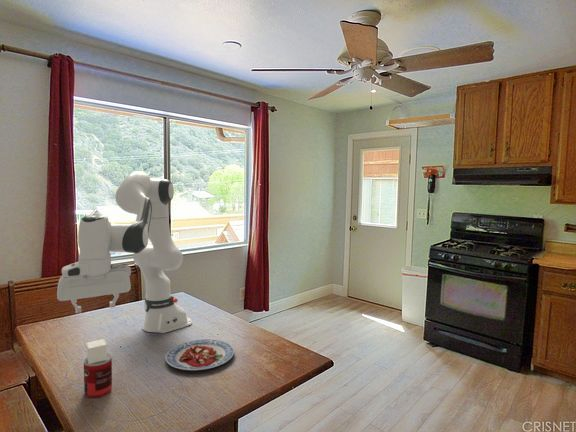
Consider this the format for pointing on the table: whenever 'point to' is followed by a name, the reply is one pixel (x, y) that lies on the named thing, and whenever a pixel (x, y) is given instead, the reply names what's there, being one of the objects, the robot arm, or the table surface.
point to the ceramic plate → (199, 354)
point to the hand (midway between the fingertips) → (95, 309)
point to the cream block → (96, 351)
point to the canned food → (98, 378)
